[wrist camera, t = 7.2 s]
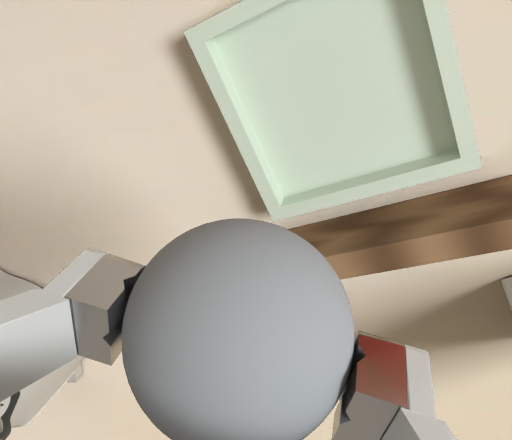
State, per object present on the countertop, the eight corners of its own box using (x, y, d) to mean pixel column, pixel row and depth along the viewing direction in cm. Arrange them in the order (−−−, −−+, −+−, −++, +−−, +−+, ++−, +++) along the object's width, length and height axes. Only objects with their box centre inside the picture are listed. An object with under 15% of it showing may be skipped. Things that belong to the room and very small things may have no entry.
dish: (278, 208, 32) (273, 221, 31) (195, 27, 27) (183, 32, 25) (476, 155, 26) (482, 167, 25) (421, -91, 21) (424, -96, 19)
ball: (217, 334, 13) (143, 501, 9) (151, 199, 11) (15, 337, 7) (377, 326, 11) (373, 530, 7) (334, 161, 9) (295, 321, 5)
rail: (265, 256, 35) (249, 295, 31) (255, 237, 34) (237, 275, 30) (539, 196, 27) (567, 239, 23) (535, 169, 26) (563, 208, 22)
